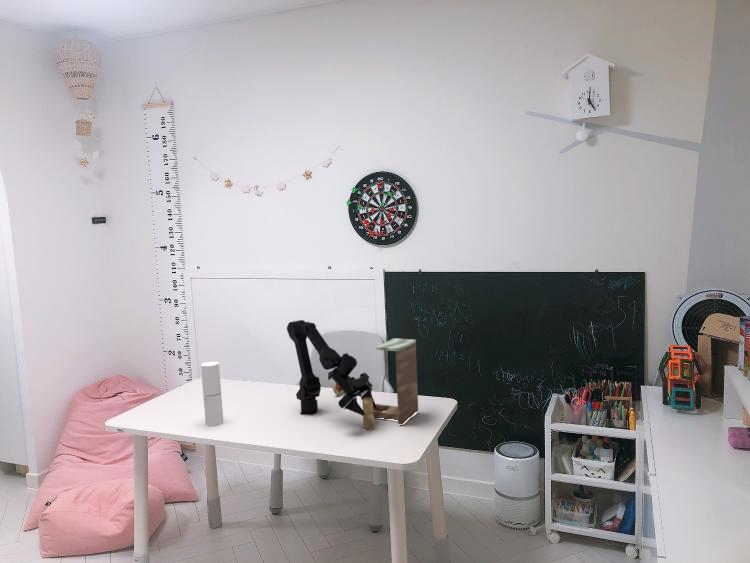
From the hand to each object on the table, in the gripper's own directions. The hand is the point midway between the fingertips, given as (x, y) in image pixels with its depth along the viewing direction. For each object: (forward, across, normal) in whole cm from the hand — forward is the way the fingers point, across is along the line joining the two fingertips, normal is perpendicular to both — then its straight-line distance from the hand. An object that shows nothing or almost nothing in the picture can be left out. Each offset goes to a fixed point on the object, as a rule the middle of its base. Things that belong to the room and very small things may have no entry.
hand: (370, 411), depth 234 cm
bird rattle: (-19, +33, +29) cm, 47 cm away
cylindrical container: (-40, -18, +50) cm, 67 cm away
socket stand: (+6, +15, +4) cm, 16 cm away
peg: (+4, 0, +6) cm, 7 cm away
